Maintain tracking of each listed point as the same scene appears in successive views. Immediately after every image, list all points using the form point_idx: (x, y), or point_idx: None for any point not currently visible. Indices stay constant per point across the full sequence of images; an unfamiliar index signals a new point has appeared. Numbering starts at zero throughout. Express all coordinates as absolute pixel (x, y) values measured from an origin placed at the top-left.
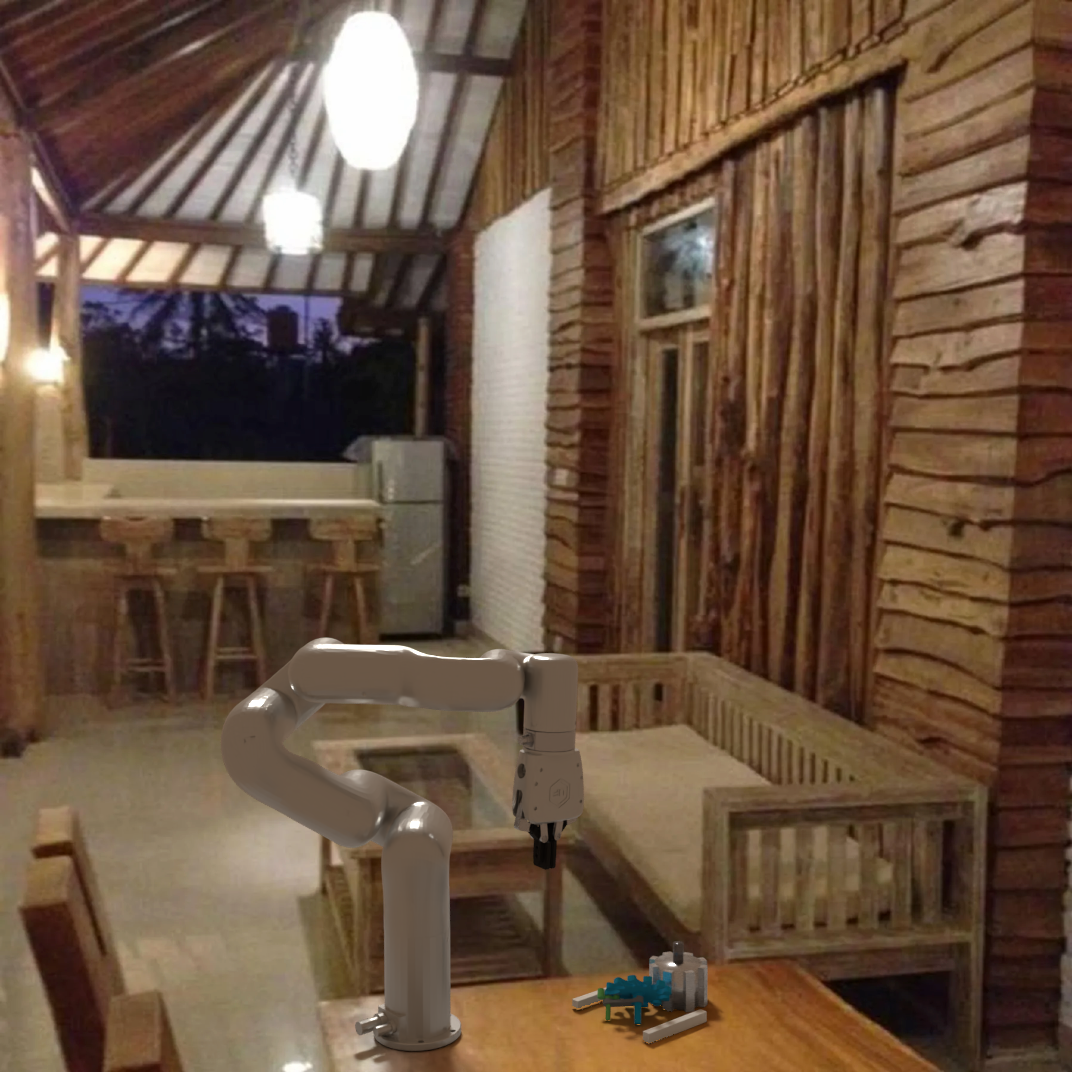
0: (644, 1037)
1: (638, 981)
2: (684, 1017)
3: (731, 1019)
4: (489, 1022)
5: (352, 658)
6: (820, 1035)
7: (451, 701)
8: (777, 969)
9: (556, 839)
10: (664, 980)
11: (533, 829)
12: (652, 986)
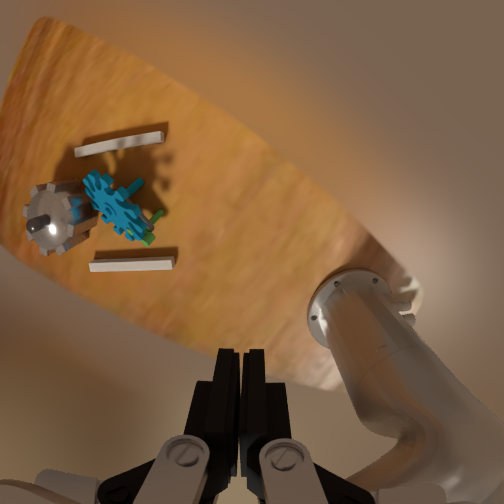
0: (162, 139)
1: (113, 194)
2: (100, 147)
3: (61, 141)
4: (276, 292)
5: None
6: (38, 75)
7: None
8: None
9: (196, 440)
10: (76, 203)
11: (365, 499)
12: (100, 188)
